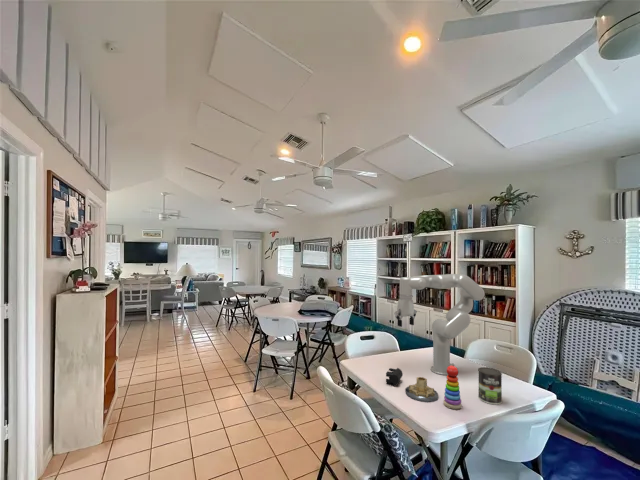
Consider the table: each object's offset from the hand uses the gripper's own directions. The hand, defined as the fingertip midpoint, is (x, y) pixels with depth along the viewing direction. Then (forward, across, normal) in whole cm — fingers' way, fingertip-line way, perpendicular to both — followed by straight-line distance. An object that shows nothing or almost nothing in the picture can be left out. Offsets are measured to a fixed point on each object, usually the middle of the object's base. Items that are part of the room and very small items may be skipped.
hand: (405, 325), depth 182 cm
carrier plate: (+28, +13, +25) cm, 40 cm away
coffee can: (+28, -14, +44) cm, 54 cm away
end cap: (+29, +16, +8) cm, 34 cm away
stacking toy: (+28, +8, +40) cm, 50 cm away
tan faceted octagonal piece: (+27, +13, +25) cm, 39 cm away
